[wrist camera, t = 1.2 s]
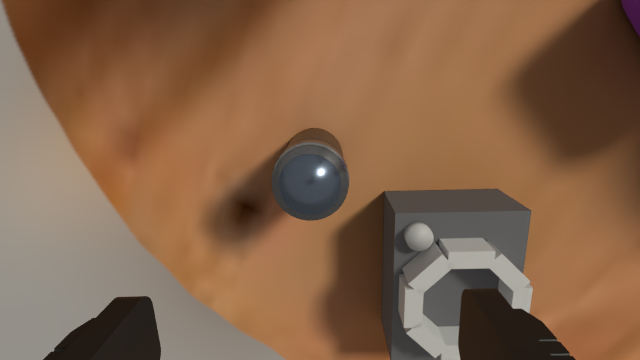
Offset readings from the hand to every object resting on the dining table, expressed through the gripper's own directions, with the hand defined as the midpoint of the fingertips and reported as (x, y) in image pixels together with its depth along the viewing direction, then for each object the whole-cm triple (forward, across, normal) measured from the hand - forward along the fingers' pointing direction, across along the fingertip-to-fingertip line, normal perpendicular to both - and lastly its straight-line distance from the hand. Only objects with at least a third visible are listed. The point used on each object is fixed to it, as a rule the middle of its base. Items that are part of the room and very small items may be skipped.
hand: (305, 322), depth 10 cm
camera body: (+20, -10, +9) cm, 24 cm away
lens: (+20, 0, 0) cm, 20 cm away
